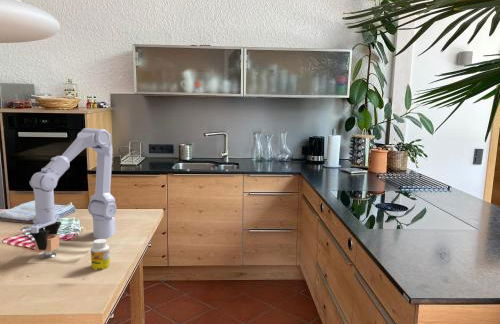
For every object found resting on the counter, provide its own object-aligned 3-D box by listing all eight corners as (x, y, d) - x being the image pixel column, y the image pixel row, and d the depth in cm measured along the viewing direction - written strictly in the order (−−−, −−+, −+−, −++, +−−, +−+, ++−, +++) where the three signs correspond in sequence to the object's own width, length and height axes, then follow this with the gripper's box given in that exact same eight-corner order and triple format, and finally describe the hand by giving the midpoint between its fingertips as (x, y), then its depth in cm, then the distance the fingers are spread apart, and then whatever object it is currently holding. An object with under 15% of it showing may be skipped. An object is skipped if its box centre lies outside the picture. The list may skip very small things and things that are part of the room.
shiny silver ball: (44, 256, 136) (43, 243, 135) (59, 257, 136) (58, 243, 135) (36, 262, 131) (35, 248, 130) (51, 263, 131) (50, 249, 130)
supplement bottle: (88, 271, 126) (86, 241, 124) (102, 265, 130) (101, 236, 129) (99, 276, 123) (98, 245, 121) (113, 269, 128) (112, 239, 126)
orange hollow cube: (44, 244, 136) (43, 232, 135) (59, 245, 136) (58, 232, 135) (35, 250, 130) (34, 237, 130) (51, 251, 130) (50, 238, 130)
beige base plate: (57, 244, 148) (56, 240, 147) (99, 245, 147) (98, 242, 147) (26, 267, 128) (26, 262, 128) (74, 268, 128) (74, 264, 127)
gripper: (44, 201, 138) (46, 238, 140) (20, 213, 124) (23, 254, 126) (64, 202, 138) (66, 239, 140) (42, 214, 124) (44, 254, 126)
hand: (47, 246), depth 133 cm, fingers closed on orange hollow cube, 5 cm apart
